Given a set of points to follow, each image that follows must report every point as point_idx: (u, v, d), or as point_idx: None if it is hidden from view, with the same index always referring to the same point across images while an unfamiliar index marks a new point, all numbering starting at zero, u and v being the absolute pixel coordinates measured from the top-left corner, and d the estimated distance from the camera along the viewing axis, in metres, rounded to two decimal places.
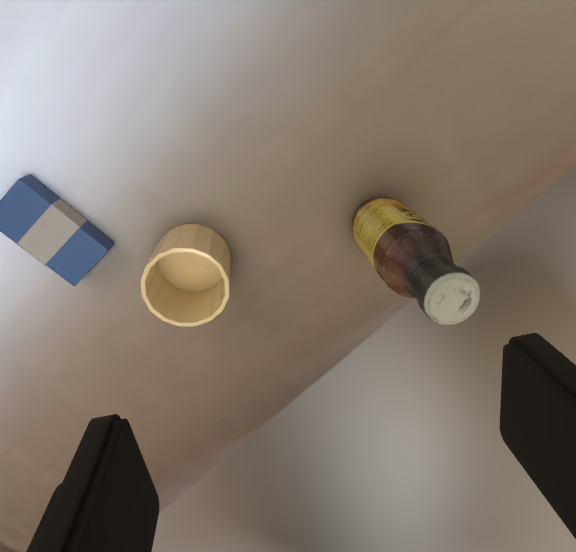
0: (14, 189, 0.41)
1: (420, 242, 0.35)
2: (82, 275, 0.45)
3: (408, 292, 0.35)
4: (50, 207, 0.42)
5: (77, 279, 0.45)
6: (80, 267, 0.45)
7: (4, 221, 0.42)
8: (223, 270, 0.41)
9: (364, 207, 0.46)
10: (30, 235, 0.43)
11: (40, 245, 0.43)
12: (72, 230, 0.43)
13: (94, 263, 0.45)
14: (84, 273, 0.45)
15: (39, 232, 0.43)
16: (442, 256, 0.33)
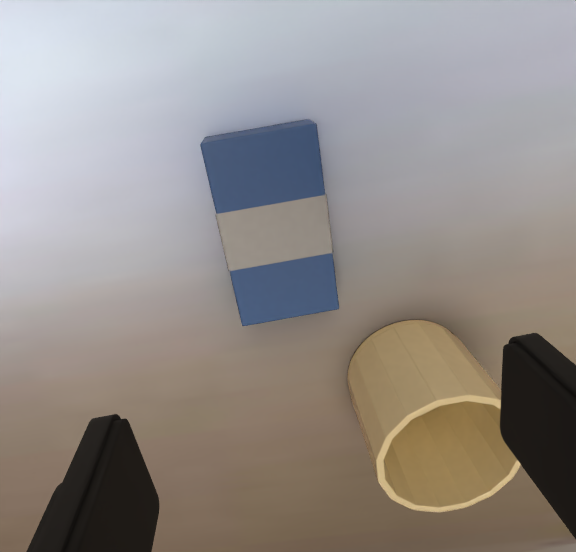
0: (293, 134, 0.21)
1: None
2: (269, 319, 0.25)
3: None
4: (320, 197, 0.22)
5: (256, 320, 0.25)
6: (276, 306, 0.24)
7: (230, 169, 0.21)
8: None
9: None
10: (249, 216, 0.22)
11: (251, 239, 0.23)
12: (318, 250, 0.23)
13: (302, 313, 0.25)
14: (274, 318, 0.25)
15: (267, 221, 0.22)
16: None
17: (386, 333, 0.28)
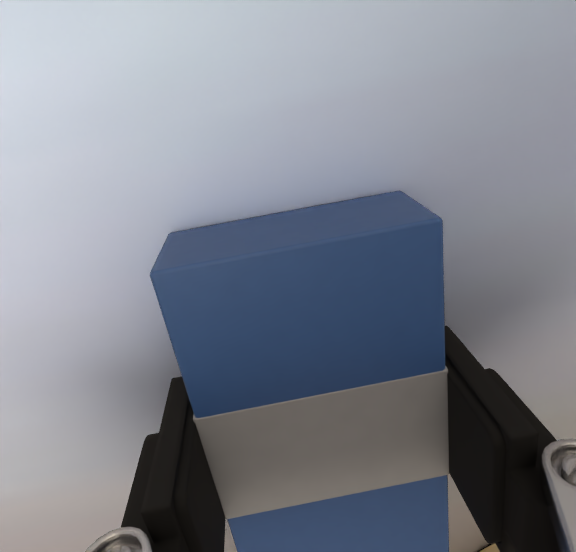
0: (385, 244, 0.08)
1: None
2: None
3: None
4: (434, 376, 0.10)
5: None
6: None
7: (226, 327, 0.09)
8: None
9: None
10: (271, 419, 0.10)
11: (275, 462, 0.10)
12: (419, 473, 0.11)
13: None
14: None
15: (312, 425, 0.10)
16: None
17: None
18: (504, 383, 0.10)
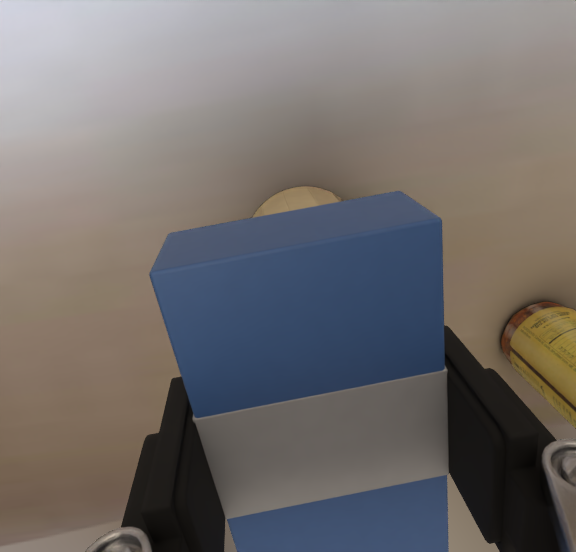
0: (385, 244, 0.08)
1: None
2: None
3: None
4: (434, 376, 0.10)
5: None
6: None
7: (225, 327, 0.09)
8: None
9: (553, 309, 0.32)
10: (271, 419, 0.10)
11: (274, 461, 0.10)
12: (419, 473, 0.11)
13: None
14: None
15: (312, 426, 0.10)
16: None
17: (275, 197, 0.28)
18: (503, 383, 0.10)
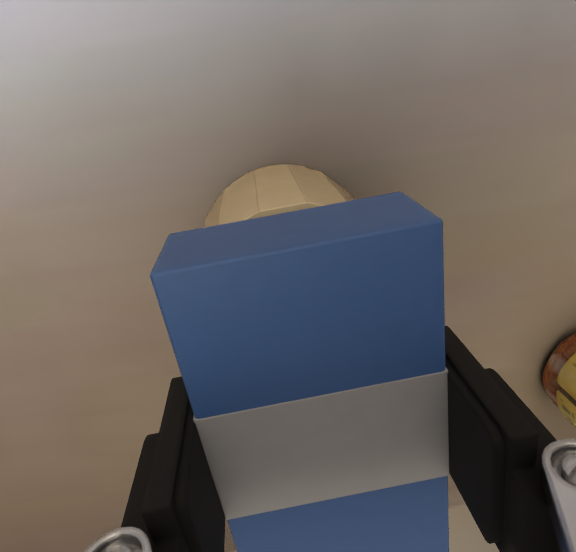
0: (385, 245, 0.08)
1: None
2: None
3: None
4: (434, 377, 0.10)
5: None
6: None
7: (226, 328, 0.09)
8: None
9: None
10: (271, 420, 0.10)
11: (275, 463, 0.10)
12: (419, 473, 0.11)
13: None
14: None
15: (312, 427, 0.10)
16: None
17: (243, 178, 0.20)
18: (503, 383, 0.10)
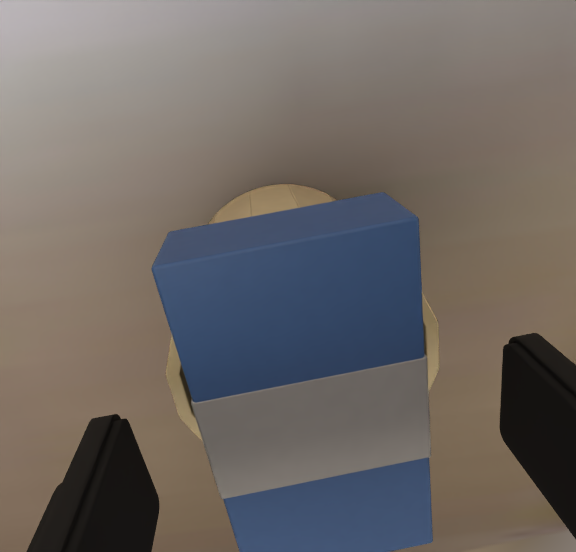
0: (367, 241, 0.09)
1: None
2: None
3: None
4: (414, 363, 0.10)
5: None
6: (315, 548, 0.13)
7: (221, 317, 0.09)
8: (431, 379, 0.14)
9: None
10: (264, 404, 0.10)
11: (268, 444, 0.11)
12: (402, 455, 0.11)
13: None
14: None
15: (302, 410, 0.11)
16: None
17: (237, 200, 0.18)
18: None
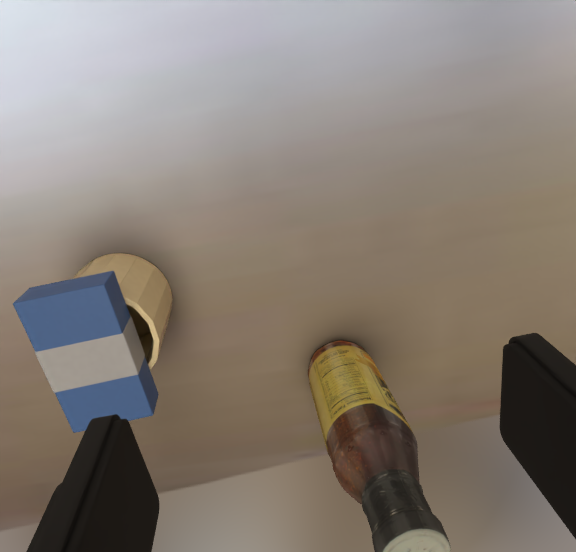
0: (87, 292, 0.27)
1: (398, 449, 0.29)
2: None
3: (356, 496, 0.29)
4: (118, 335, 0.28)
5: (84, 427, 0.30)
6: (99, 416, 0.30)
7: (40, 319, 0.27)
8: (158, 346, 0.31)
9: (338, 348, 0.39)
10: (63, 352, 0.28)
11: (68, 368, 0.28)
12: (125, 373, 0.29)
13: None
14: None
15: (78, 354, 0.28)
16: (417, 484, 0.27)
17: (89, 263, 0.35)
18: None
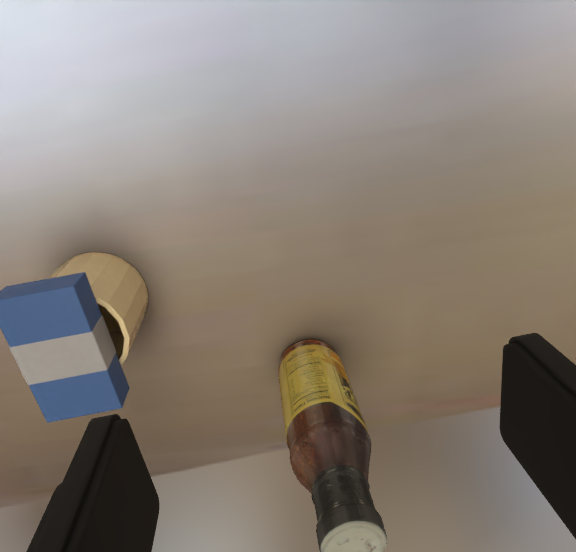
0: (57, 293, 0.28)
1: (349, 446, 0.30)
2: (67, 417, 0.32)
3: (308, 488, 0.31)
4: (88, 334, 0.30)
5: (57, 418, 0.32)
6: (71, 408, 0.32)
7: (13, 317, 0.29)
8: (128, 343, 0.33)
9: (306, 347, 0.41)
10: (35, 348, 0.30)
11: (40, 363, 0.30)
12: (95, 369, 0.31)
13: (93, 412, 0.32)
14: (71, 416, 0.32)
15: (50, 350, 0.30)
16: (363, 479, 0.29)
17: (68, 261, 0.37)
18: None
